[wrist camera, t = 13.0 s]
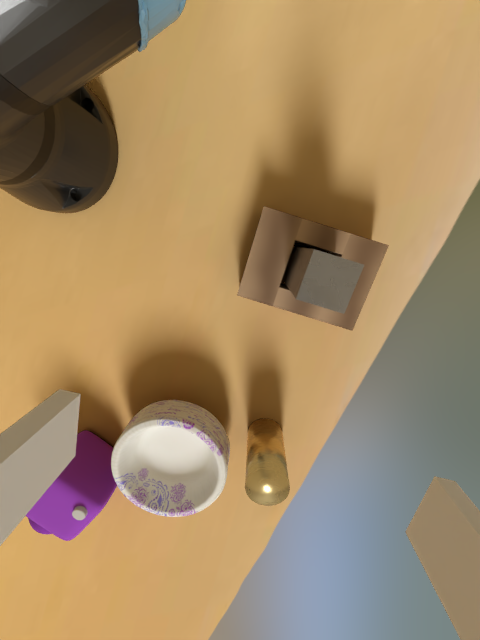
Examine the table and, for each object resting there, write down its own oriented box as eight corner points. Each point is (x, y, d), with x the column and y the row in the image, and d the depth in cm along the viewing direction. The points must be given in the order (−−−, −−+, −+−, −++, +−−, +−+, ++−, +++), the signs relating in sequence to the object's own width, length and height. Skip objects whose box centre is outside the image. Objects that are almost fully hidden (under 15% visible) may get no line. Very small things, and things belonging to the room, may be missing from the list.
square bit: (281, 278, 37) (295, 299, 24) (292, 246, 36) (314, 249, 23) (312, 288, 37) (344, 313, 24) (324, 256, 36) (364, 264, 23)
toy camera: (46, 478, 48) (-7, 537, 38) (75, 418, 45) (25, 466, 35) (104, 507, 49) (67, 572, 39) (137, 450, 45) (105, 506, 36)
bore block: (239, 288, 38) (237, 295, 33) (262, 211, 35) (263, 206, 30) (340, 319, 38) (352, 330, 33) (370, 245, 35) (388, 245, 31)
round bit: (243, 442, 44) (239, 498, 34) (253, 414, 43) (252, 464, 33) (275, 452, 44) (281, 510, 34) (287, 424, 43) (295, 477, 33)
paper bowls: (237, 395, 42) (233, 429, 34) (226, 479, 46) (219, 526, 38) (135, 381, 42) (108, 411, 35) (133, 465, 46) (108, 509, 39)
